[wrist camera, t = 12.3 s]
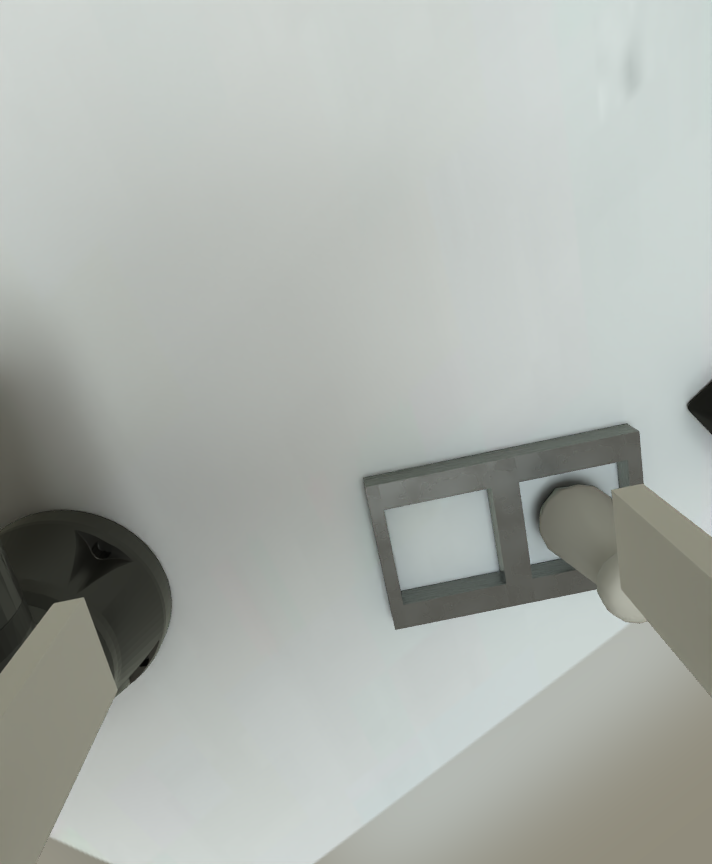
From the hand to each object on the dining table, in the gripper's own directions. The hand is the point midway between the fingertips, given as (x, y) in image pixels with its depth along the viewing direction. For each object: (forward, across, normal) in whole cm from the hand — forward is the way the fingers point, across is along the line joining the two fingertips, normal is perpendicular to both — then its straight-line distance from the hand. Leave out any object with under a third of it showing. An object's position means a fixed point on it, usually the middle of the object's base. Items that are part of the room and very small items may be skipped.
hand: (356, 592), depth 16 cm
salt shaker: (+32, +15, -15) cm, 38 cm away
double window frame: (+32, +10, -15) cm, 36 cm away
